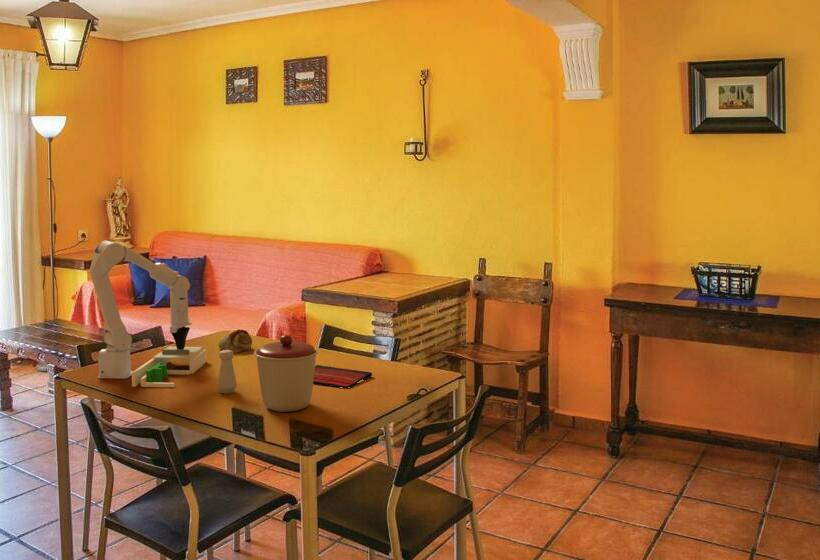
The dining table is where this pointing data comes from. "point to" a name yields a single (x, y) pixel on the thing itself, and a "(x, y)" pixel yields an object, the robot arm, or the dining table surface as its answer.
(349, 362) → the dining table surface
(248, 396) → the dining table surface
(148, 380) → the pipe clamp
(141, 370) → the housing
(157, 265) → the robot arm
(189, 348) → the door
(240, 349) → the pastry
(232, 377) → the salt shaker
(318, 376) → the binder
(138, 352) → the dining table surface
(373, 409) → the dining table surface
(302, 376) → the canister
